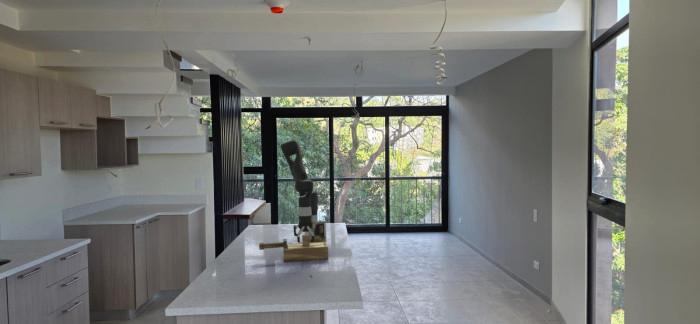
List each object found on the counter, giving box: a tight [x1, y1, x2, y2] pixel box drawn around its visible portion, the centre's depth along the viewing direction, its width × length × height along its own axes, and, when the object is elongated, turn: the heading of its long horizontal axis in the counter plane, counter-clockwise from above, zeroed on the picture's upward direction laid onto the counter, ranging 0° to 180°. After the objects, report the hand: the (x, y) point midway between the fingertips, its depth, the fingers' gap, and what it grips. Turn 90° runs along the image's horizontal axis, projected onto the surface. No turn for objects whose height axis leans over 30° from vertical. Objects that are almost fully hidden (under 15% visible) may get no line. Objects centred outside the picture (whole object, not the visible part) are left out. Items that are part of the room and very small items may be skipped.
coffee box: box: [310, 221, 327, 243], centre depth 245 cm, size 9×6×16 cm
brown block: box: [258, 241, 283, 251], centre depth 221 cm, size 3×14×3 cm, turn 100°
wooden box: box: [282, 238, 329, 263], centre depth 225 cm, size 12×25×11 cm, turn 100°
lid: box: [288, 234, 325, 249], centre depth 225 cm, size 9×21×7 cm, turn 100°
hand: (305, 242), depth 225 cm, fingers open, 7 cm apart
